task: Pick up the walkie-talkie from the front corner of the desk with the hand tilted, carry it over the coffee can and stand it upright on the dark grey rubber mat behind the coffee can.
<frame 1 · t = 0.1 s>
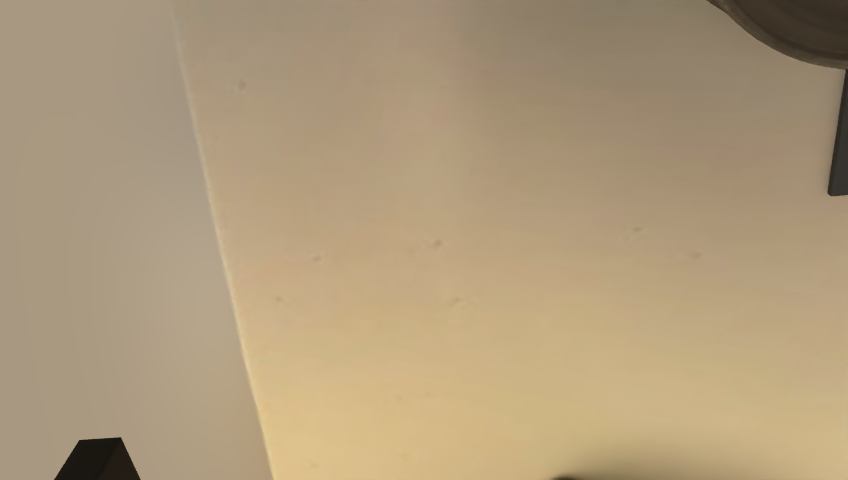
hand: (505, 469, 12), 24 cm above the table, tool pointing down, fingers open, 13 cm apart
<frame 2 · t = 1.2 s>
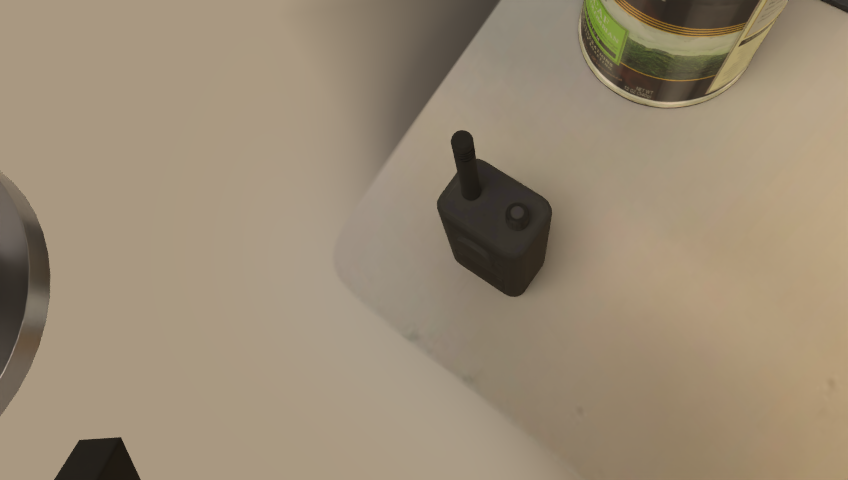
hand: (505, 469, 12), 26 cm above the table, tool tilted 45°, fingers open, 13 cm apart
walkie-talkie: (495, 257, 39), on the table
coffee can: (666, 32, 42), on the table
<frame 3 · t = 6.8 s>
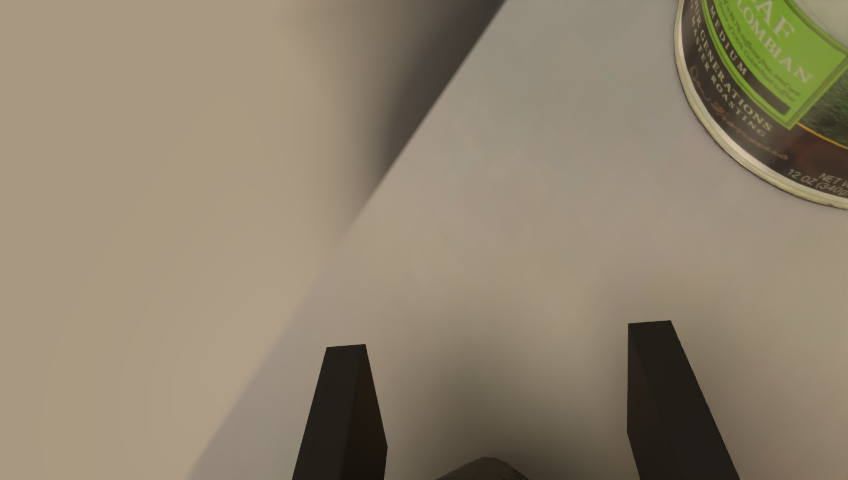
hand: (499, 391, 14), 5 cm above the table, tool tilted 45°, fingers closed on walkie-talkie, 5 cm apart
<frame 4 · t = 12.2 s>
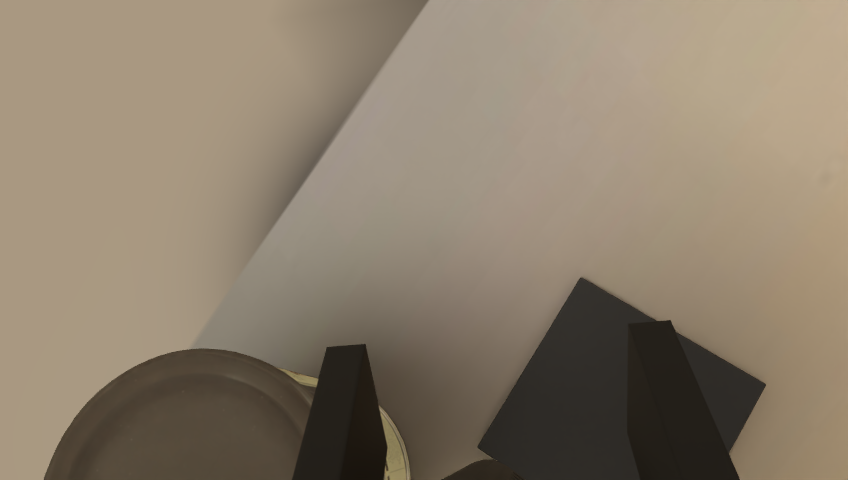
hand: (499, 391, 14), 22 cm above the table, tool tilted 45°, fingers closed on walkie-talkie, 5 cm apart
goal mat: (618, 416, 34), on the table
when the fingers open (6 cm above the table, at t = 17.7 s): walkie-talkie stays where it is, resting on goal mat.
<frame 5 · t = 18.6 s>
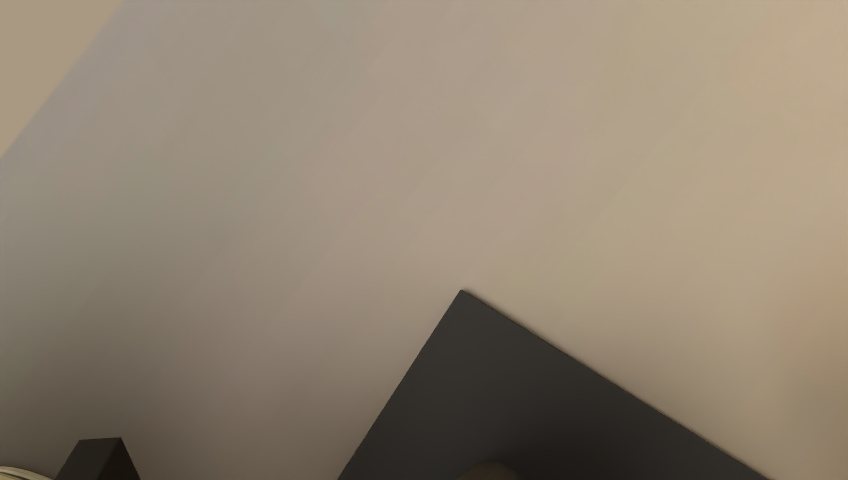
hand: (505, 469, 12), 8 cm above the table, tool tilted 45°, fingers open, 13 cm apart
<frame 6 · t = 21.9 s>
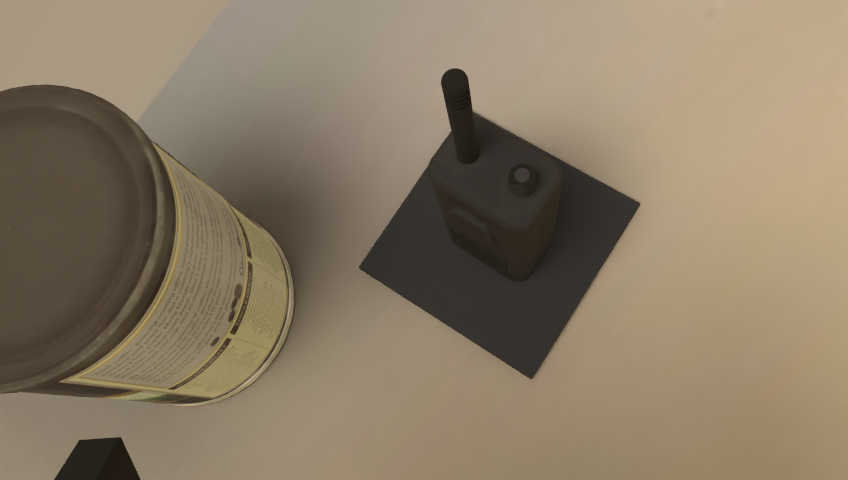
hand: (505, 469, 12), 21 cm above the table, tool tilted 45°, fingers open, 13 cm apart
walkie-talkie: (496, 238, 35), resting on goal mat
coffee can: (201, 306, 36), on the table
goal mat: (497, 237, 35), on the table
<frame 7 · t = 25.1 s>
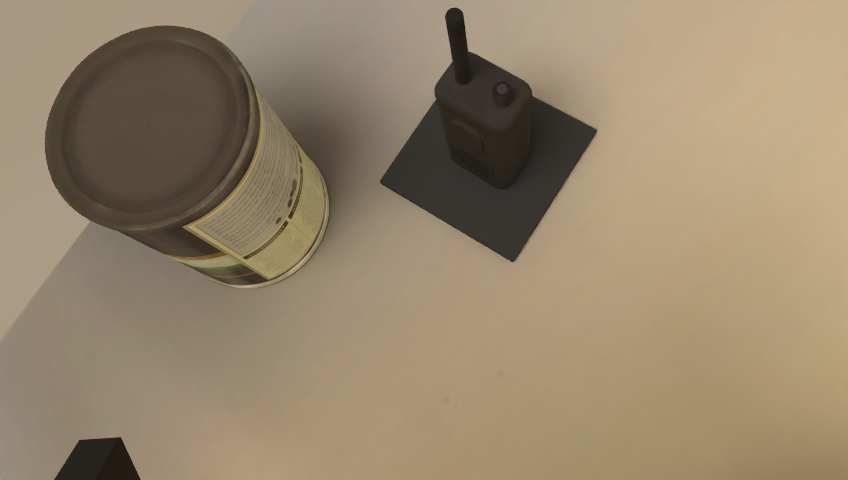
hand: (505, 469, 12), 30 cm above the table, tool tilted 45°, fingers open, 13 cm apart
walkie-talkie: (486, 158, 45), resting on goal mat
coffee can: (256, 214, 46), on the table
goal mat: (487, 158, 45), on the table
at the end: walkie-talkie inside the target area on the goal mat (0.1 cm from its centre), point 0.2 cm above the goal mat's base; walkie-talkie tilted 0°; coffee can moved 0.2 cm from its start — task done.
